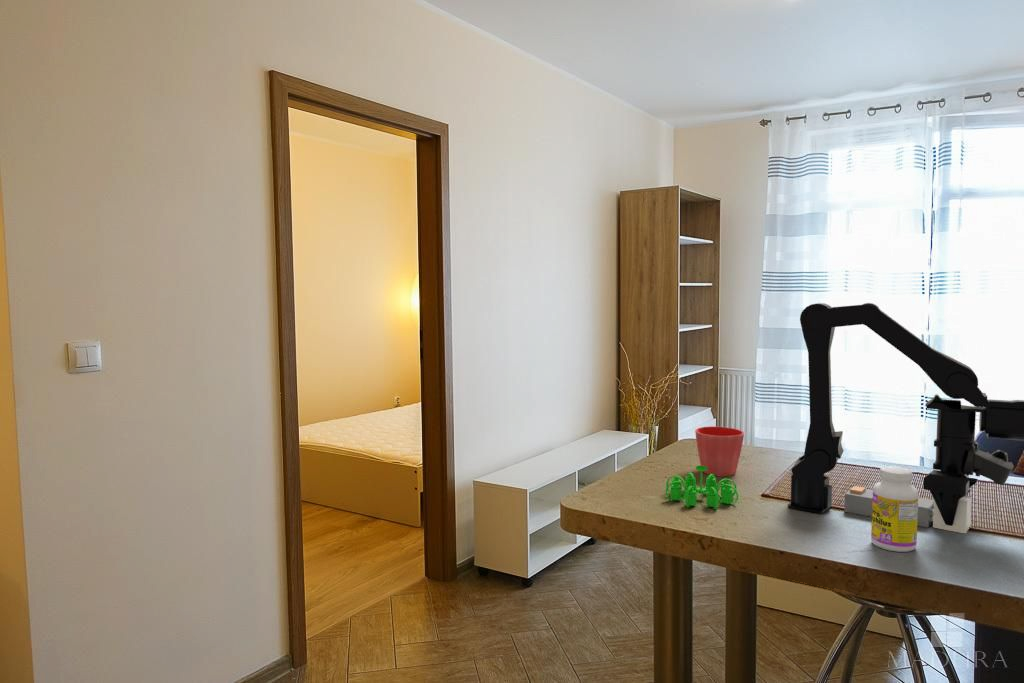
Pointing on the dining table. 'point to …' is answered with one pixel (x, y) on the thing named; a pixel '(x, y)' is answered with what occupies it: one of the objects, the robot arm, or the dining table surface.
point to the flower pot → (719, 449)
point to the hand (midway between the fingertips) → (951, 521)
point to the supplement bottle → (895, 510)
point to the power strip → (862, 500)
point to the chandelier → (701, 489)
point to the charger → (961, 516)
